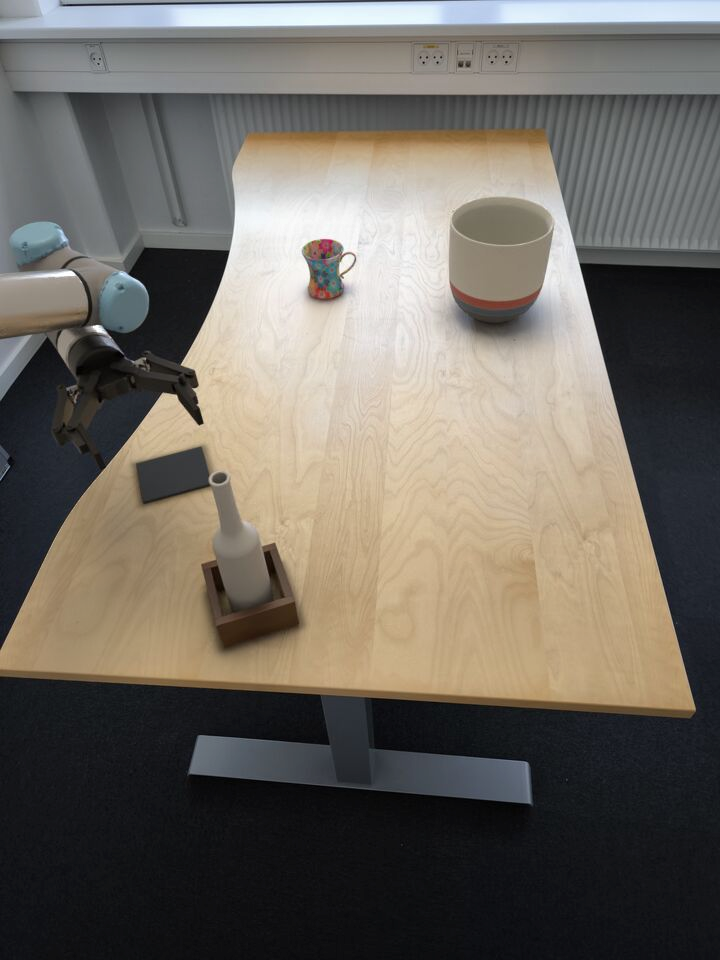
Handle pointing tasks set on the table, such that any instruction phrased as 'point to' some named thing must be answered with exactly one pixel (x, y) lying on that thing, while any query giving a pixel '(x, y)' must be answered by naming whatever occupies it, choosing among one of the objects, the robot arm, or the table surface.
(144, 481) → the mat
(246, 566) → the bottle
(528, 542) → the table surface
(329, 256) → the mug
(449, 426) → the table surface
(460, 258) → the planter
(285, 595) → the holder
